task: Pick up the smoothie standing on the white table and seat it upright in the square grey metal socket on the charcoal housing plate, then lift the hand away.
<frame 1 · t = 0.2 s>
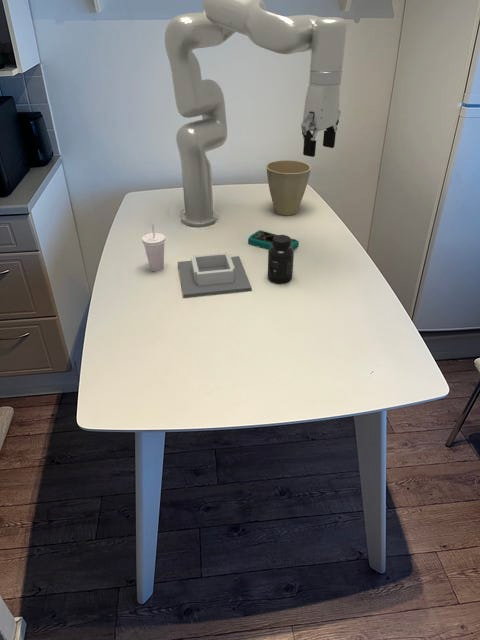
hand: (318, 151, 126), 31 cm above the table, tool pointing down, fingers open, 9 cm apart
plant pot: (286, 211, 173), on the table
smoothie: (157, 269, 139), on the table
supplement bottle: (279, 278, 135), on the table
housing: (213, 277, 135), on the table
digital multimeter: (272, 247, 152), on the table
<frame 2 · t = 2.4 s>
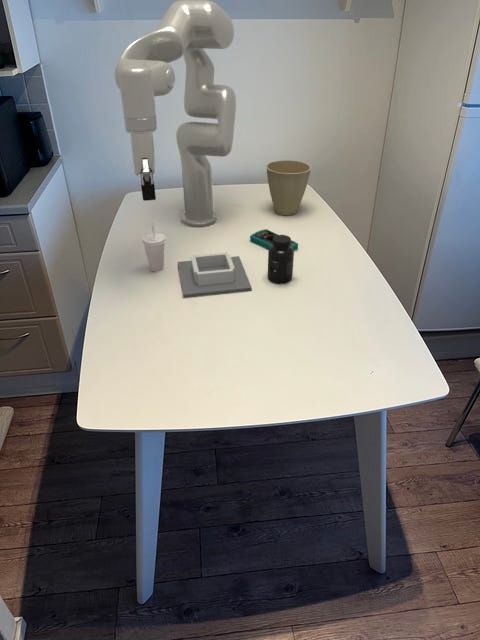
hand: (148, 193, 126), 22 cm above the table, tool pointing down, fingers open, 9 cm apart
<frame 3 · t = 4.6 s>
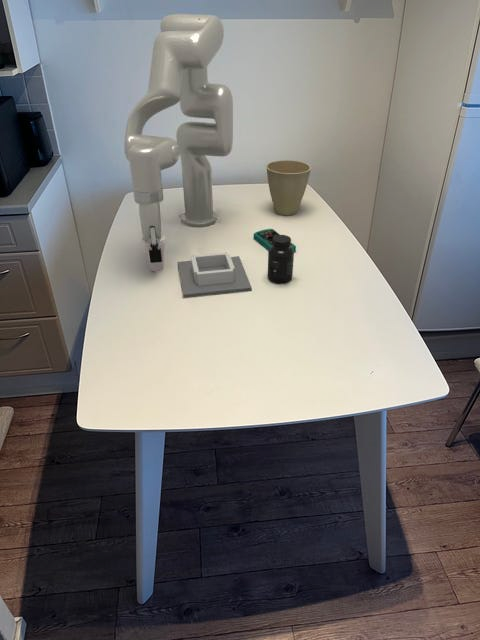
hand: (155, 255, 137), 4 cm above the table, tool pointing down, fingers closed on smoothie, 5 cm apart
smoothie: (157, 269, 139), on the table, touching gripper
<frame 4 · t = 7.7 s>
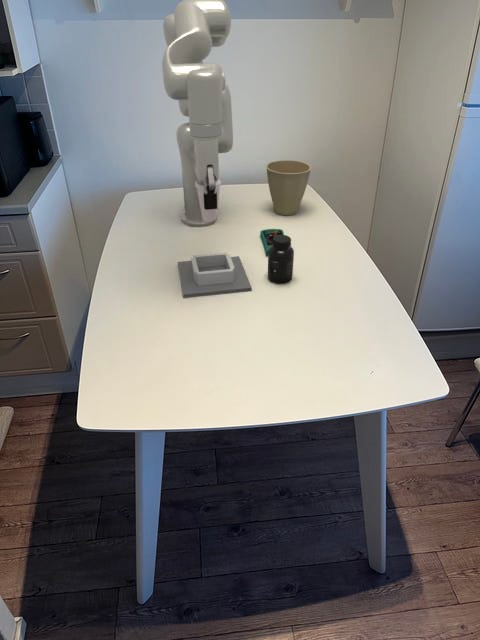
hand: (209, 203, 123), 21 cm above the table, tool pointing down, fingers closed on smoothie, 5 cm apart
smoothie: (209, 219, 125), point 17 cm above the table, touching gripper
when the fingers open (6 cm above the table, at t = 11.0 s): smoothie drops 1 cm, resting on housing.
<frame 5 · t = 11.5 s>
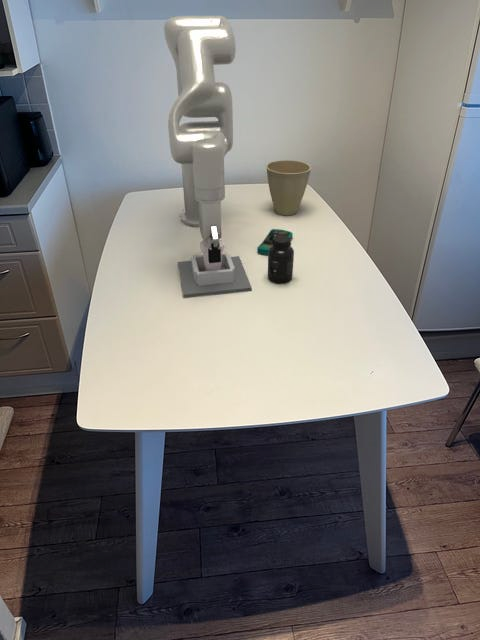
hand: (212, 253, 131), 7 cm above the table, tool pointing down, fingers open, 9 cm apart
smoothie: (213, 275, 134), point 1 cm above the table, touching housing
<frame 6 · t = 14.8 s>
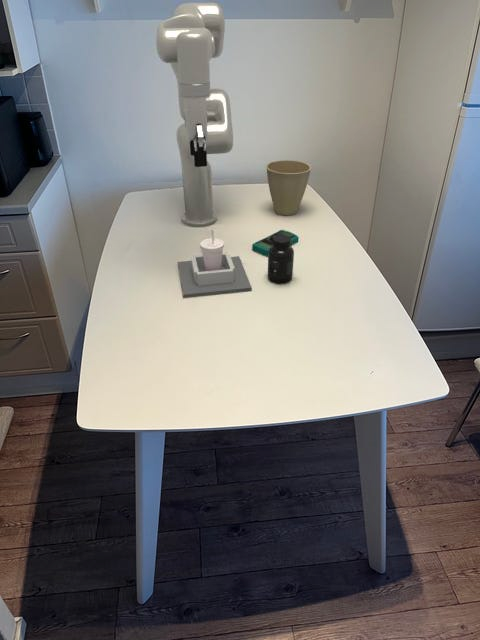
hand: (198, 160, 129), 28 cm above the table, tool pointing down, fingers open, 9 cm apart
at the end: smoothie 0.6 cm off-centre on the housing, point 0.8 cm above the housing's base; smoothie tilted 0°; the gripper is holding nothing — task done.
